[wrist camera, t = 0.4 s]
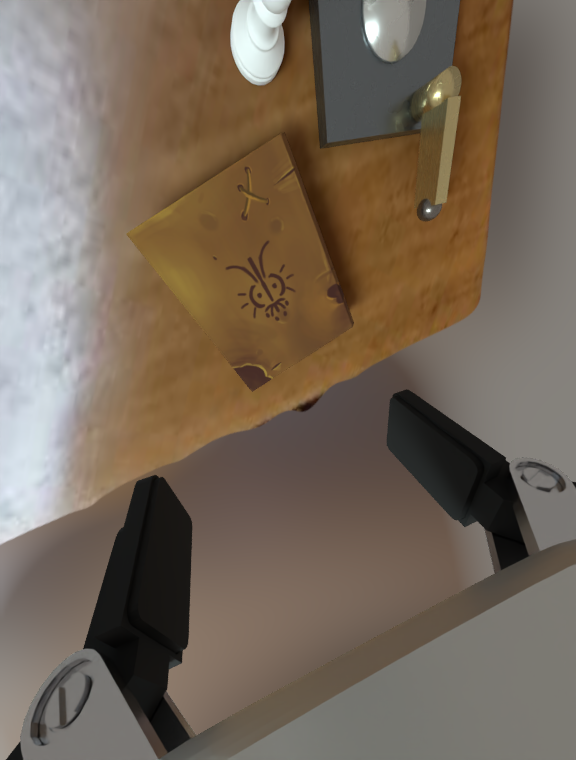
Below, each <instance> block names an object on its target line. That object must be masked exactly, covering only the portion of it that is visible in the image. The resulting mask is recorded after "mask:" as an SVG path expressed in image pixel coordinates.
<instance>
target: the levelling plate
mask: <svg viewBox="0 0 576 760" xmlns="http://www.w3.org/2000/svg"><path fill="white" fill-rule="evenodd" d="M459 5H460V0H309V10H310V23H311V36H312V49H313V62H314V75H315V88H316V101H317V114H318V127H319V140H320V149H321V148H328V147H334V146H340V145H347V144H353V143H360V142H366V141H373V140H379V139H386V138H392V137H399V136H405V135H412V134H418V133H421V121H420V122H417V121H415V120H414V119H413V118H412V116H411V112H410V104H411V100H412V97H413V95H414V93H415V92H416V90H418V89H419V88H420V87H422V86H423V85H424V84H426V83H427V82H429V81H430V80H432V79H433V78H434V77H436V76H437V75H439V74H440V73H441V72H443V71H444V70H446V69H447V68H448V67H450V66H452V62H453V54H454V46H455V37H456V29H457V21H458V13H459Z"/></svg>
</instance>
